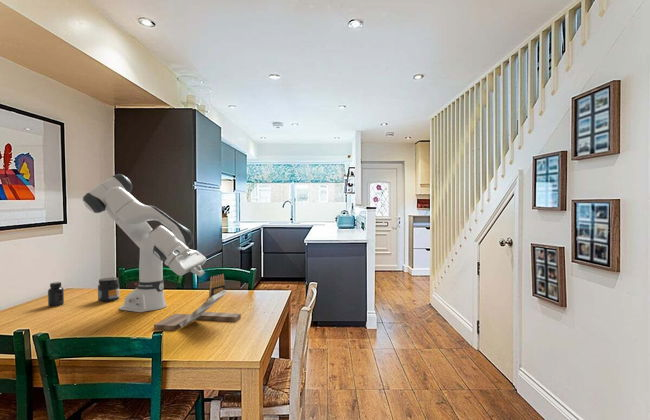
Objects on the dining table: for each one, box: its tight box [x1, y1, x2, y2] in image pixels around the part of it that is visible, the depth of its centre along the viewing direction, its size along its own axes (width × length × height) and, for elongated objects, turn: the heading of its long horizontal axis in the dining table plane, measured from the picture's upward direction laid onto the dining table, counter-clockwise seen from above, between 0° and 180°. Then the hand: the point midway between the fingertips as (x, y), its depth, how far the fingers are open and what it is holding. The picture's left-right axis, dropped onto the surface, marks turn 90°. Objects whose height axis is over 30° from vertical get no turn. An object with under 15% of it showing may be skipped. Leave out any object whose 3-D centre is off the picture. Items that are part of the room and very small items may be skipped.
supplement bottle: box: [47, 281, 65, 307], centre depth 195 cm, size 7×7×12 cm
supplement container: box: [97, 276, 120, 303], centre depth 206 cm, size 10×10×12 cm
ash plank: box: [179, 289, 228, 328], centre depth 162 cm, size 20×12×2 cm
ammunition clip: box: [208, 273, 226, 298], centre depth 217 cm, size 11×2×12 cm, turn 149°
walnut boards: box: [153, 311, 242, 331], centre depth 165 cm, size 31×21×2 cm
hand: (202, 274), depth 161 cm, fingers closed
